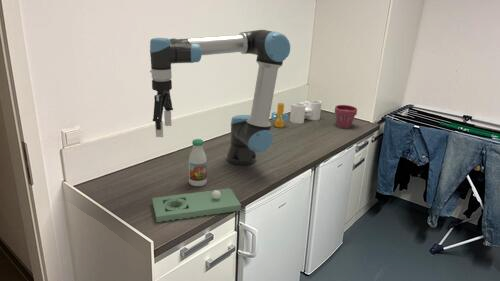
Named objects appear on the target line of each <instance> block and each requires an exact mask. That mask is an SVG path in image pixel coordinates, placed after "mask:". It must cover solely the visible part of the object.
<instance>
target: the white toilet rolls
mask: <svg viewBox="0 0 500 281" xmlns="http://www.w3.org/2000/svg"><path fill="white" fill-rule="evenodd" d="M321 111H322V101H321V100H319V99H312V100H311V102H310V101H308V100H305V101H301V102H300V101H299V102H297V104H294V103H291V104H290V114H289V115H290V116H289V122H291V123H293V124H295V125H296V124H299V125H300V124H304V123H305V119H306V120H309V121H318V120H319V121H320V119H321Z"/></svg>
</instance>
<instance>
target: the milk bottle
mask: <svg viewBox="0 0 500 281" xmlns="http://www.w3.org/2000/svg"><path fill="white" fill-rule="evenodd" d="M191 144H192V150H191V151H190V154H189V156H188V183H189V185H191V186H194V187H202V186H204V185H206V184H207V179H208V172H207V171H208V165H207V164H208V161H207V160H208V158H207V155H206V153H205V150H204V147H203V146H204V140H203V139H202V138H195V139H193V140H192V142H191Z"/></svg>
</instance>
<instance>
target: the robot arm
mask: <svg viewBox="0 0 500 281" xmlns="http://www.w3.org/2000/svg"><path fill="white" fill-rule="evenodd" d="M149 53H150V56H149V57H150V65H151V66H150V67H151V68H150V69H151V70H149V73H151V79H152V80H151V88H152V91H155V92H157V93H156V94H155V95H154V98H153V99H154V103H153V104H154V105H153V117H152V122H154V126H155V128H154V129H155V130H154V131H155V138H164V126H165V127H172V111H173V110H174V108H173V103H172V98H171V90H172V89H173V83H172V76H173V75H172V64H193V63H198V62H200V61H201V60H202V56H209V55H223V54H232V53H241V54H242V55H247V54H248V55H249V54H250V55H255V56H256V62H257V64H258V69H257V70H258V71H257V75H256V76H257V77H256V82H255V87H254V92H253V93H254V95H253V98H252V99H253V100H252V104H251V105H252V107H251V112H250V114H239V115H234V116H232V118H231V120H230V146H229V148H228V150H227V153H226V160H227V162H229V163H230V164H233V165H238V166H246V165H247V166H248V165H252V164H254V163H255V162H257V154H256V153H258V154H260V153H264V152H266V151H268V149H270V147H272V145H273V143H274V135H273V133H272V132H271V128H272V123H271V122H270V117H271V110H272V104H273V100H274V93H275V88H276V84H277V83H276V82H277V78H278V72H279V68H281V67H282V66H283V64H284V63H283V62H284V61H285V60H286V58H288V57H289V55H290V53H291V43H290V40H289V39H288V37H287V36H286V35H285V34H283V33H281V32H278V31H271V30H267V29H257V30H256V29H255V30H249V31H240V32H239V34H231V35H221V36H220V35H215V36H207V37H205V36H204V37H192V38H191V37H190V38H179V39H178V38H174V37H173V38H166V37H153V38H151V39H150V41H149ZM163 118H164V123H163V120H162V119H163ZM163 124H164V126H163Z"/></svg>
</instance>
